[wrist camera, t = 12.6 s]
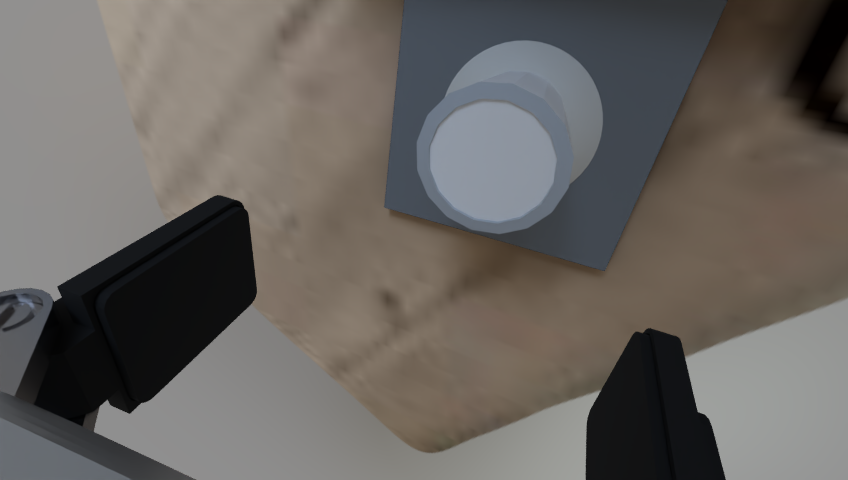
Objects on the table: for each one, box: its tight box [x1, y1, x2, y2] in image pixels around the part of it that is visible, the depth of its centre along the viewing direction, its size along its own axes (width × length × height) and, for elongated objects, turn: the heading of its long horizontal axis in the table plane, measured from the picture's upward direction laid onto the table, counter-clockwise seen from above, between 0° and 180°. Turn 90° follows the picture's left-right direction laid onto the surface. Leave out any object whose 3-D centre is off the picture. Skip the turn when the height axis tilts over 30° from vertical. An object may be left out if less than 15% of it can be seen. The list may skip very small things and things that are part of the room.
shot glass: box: [417, 71, 574, 234], centre depth 21 cm, size 7×7×7 cm
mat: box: [384, 0, 728, 271], centre depth 25 cm, size 15×15×1 cm
